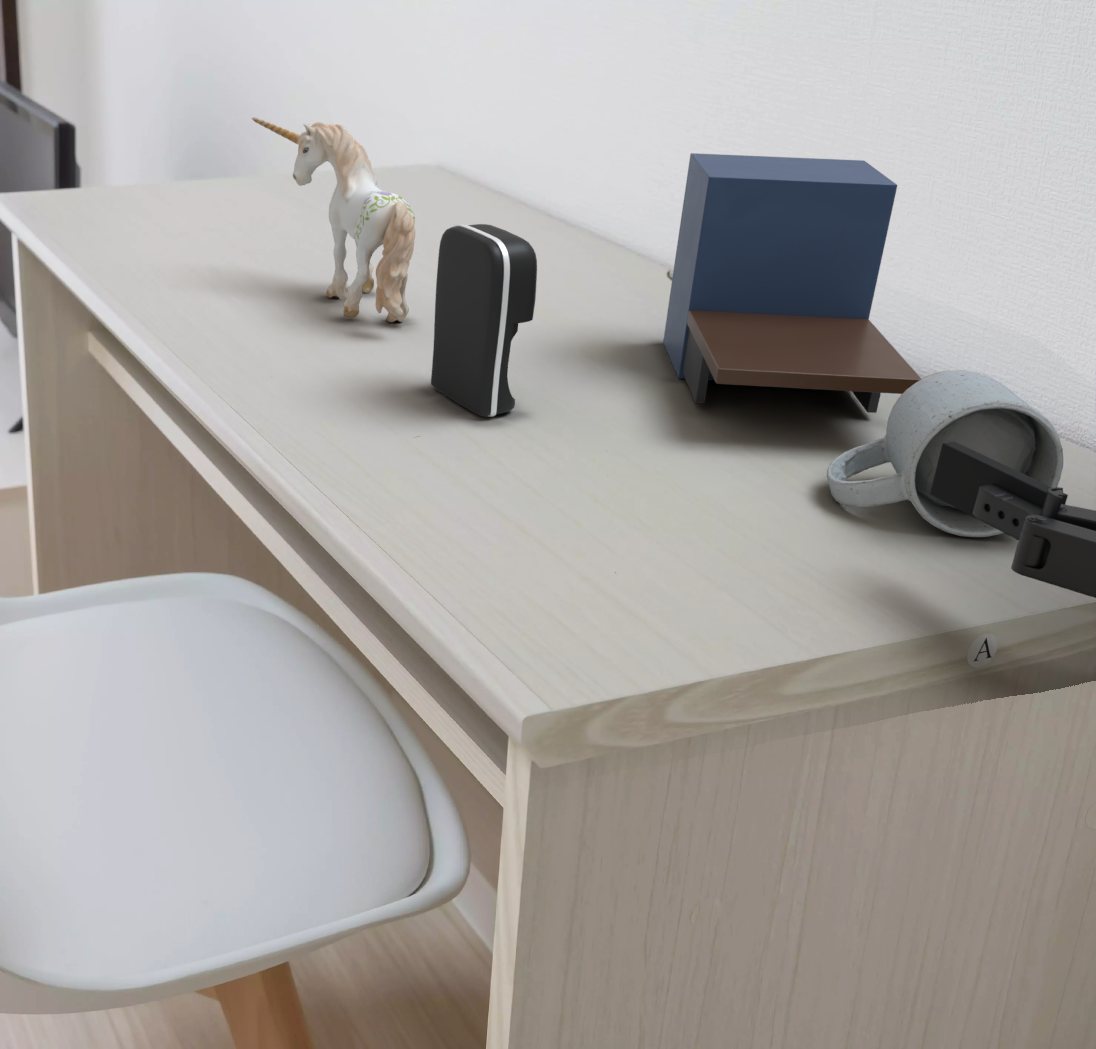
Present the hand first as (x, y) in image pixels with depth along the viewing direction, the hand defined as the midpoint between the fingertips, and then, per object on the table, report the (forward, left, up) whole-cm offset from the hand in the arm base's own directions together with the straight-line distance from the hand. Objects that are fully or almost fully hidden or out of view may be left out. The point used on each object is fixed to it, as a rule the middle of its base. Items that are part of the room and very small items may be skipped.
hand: (1043, 449), depth 68 cm
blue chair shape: (+8, -23, -6) cm, 25 cm away
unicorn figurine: (+40, -37, -6) cm, 55 cm away
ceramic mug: (+3, -5, -6) cm, 9 cm away
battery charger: (+28, -18, -6) cm, 34 cm away
